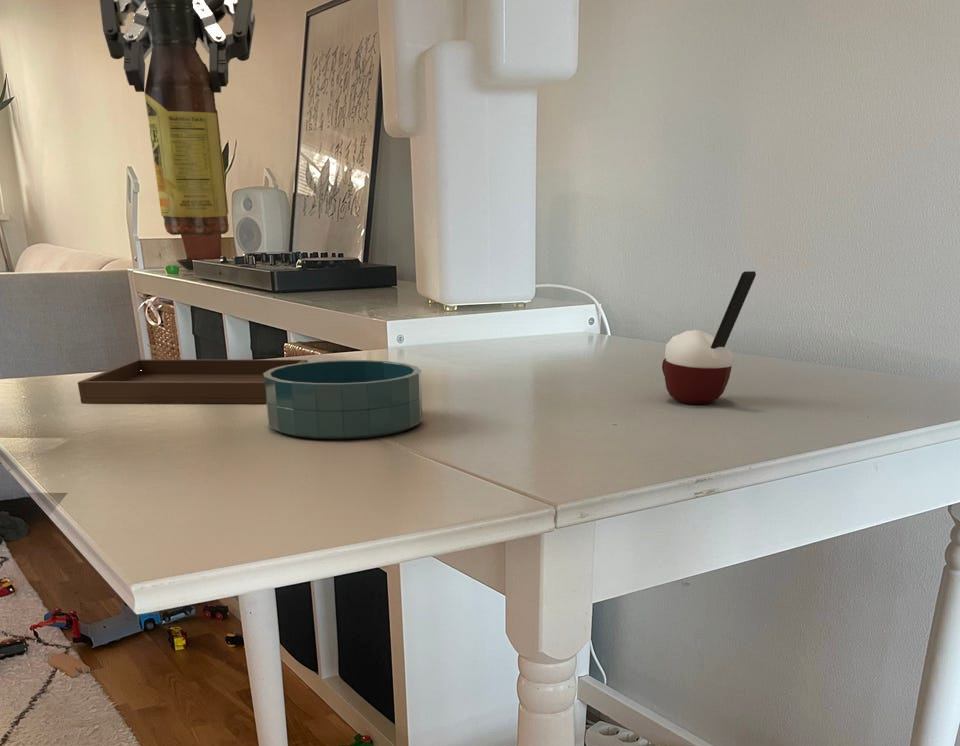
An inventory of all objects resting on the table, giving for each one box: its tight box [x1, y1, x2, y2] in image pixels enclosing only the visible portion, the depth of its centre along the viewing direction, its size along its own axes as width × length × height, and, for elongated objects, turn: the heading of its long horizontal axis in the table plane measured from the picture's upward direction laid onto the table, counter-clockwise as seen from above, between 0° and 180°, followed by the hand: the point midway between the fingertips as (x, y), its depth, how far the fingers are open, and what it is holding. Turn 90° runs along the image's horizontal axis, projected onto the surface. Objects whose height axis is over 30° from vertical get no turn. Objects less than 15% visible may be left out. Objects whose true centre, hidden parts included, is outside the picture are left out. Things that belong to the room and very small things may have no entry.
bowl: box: [263, 359, 423, 440], centre depth 84 cm, size 13×13×4 cm
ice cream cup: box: [661, 270, 757, 405], centre depth 91 cm, size 10×6×12 cm, turn 10°
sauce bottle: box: [144, 0, 230, 237], centre depth 89 cm, size 7×6×20 cm
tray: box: [77, 358, 309, 405], centre depth 100 cm, size 19×15×2 cm
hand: (176, 83), depth 86 cm, fingers closed on sauce bottle, 6 cm apart
